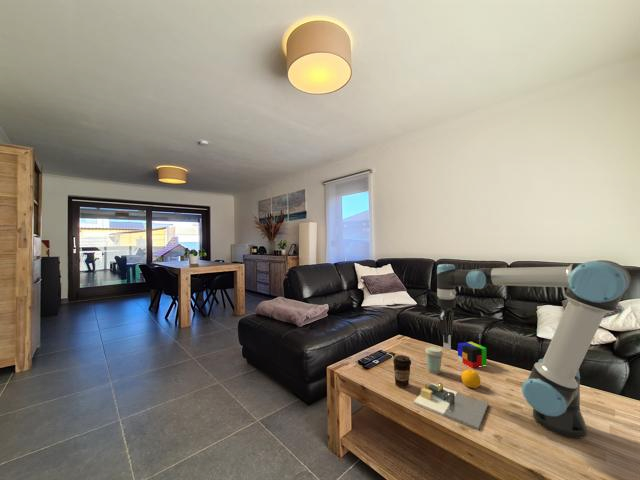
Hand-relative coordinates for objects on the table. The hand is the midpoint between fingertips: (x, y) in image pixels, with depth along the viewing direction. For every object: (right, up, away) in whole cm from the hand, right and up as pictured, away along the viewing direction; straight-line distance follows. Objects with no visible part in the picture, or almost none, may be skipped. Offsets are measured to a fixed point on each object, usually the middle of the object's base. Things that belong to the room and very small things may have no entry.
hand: (447, 349), depth 121 cm
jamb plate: (+2, -19, -13) cm, 24 cm away
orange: (+14, -20, +5) cm, 25 cm away
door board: (-7, -19, -5) cm, 22 cm away
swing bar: (-7, -18, -4) cm, 20 cm away
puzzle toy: (+28, -20, +29) cm, 45 cm away
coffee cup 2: (+2, -20, +19) cm, 28 cm away
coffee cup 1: (-19, -20, +6) cm, 28 cm away
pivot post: (-3, -19, -9) cm, 22 cm away
